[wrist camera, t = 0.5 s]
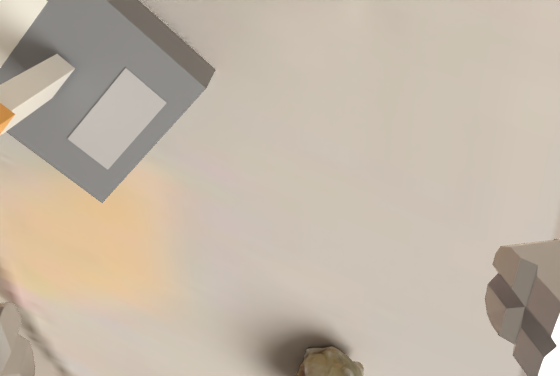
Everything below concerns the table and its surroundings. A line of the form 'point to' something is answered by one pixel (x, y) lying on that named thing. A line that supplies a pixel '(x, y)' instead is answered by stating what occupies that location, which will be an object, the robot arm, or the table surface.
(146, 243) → the table surface
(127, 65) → the switch box
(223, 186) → the table surface
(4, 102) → the breaker lever
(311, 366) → the beige hollow lumpy pot
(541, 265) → the robot arm
